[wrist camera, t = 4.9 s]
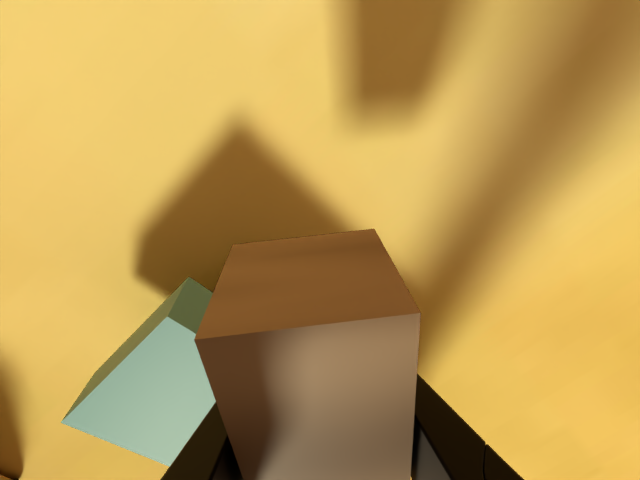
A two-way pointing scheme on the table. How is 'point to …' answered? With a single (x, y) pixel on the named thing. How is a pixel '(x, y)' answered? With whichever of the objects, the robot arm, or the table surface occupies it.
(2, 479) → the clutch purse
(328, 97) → the table surface
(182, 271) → the table surface
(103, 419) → the slab
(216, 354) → the block
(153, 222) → the table surface
